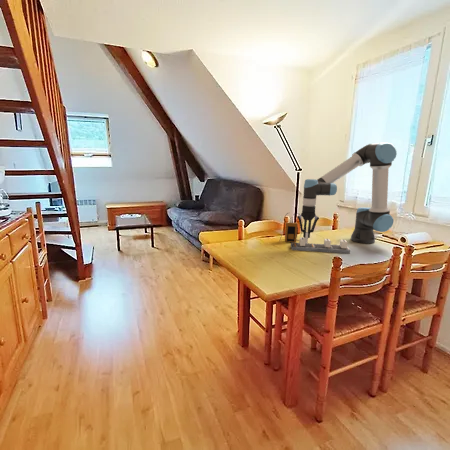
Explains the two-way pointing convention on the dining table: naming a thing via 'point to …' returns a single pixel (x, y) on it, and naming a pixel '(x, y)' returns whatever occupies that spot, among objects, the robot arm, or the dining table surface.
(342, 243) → the breaker
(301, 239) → the breaker
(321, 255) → the dining table surface
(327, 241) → the block
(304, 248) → the panel
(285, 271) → the dining table surface
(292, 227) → the multimeter
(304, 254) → the dining table surface
